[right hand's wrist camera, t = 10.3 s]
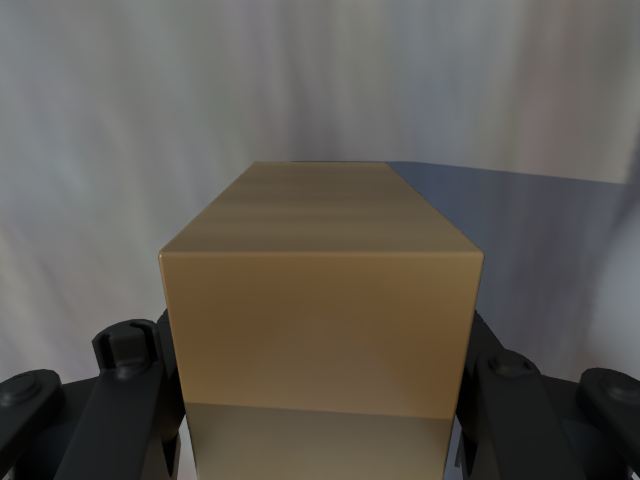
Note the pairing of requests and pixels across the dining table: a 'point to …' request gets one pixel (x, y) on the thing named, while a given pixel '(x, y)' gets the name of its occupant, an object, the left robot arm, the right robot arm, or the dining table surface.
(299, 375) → the bar
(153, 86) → the dining table surface
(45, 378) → the right robot arm
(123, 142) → the dining table surface
